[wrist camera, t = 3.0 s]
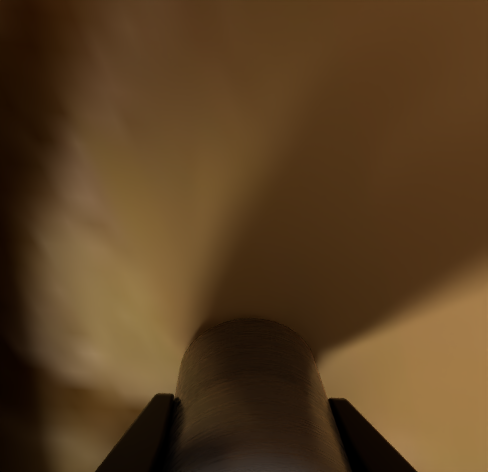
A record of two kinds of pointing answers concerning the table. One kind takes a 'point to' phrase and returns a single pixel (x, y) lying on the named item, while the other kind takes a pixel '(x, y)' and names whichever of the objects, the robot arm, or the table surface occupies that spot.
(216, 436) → the black peg
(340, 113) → the table surface
